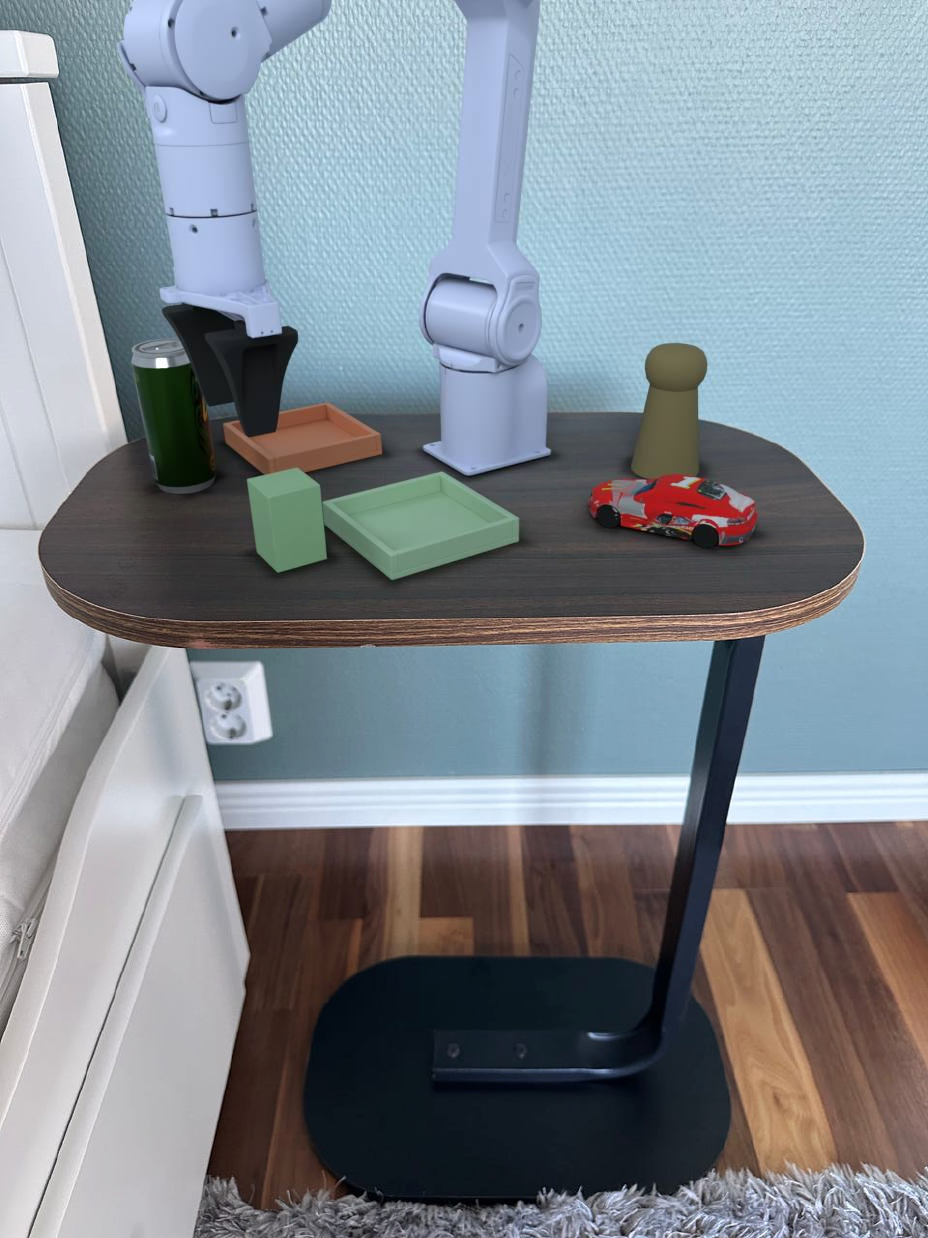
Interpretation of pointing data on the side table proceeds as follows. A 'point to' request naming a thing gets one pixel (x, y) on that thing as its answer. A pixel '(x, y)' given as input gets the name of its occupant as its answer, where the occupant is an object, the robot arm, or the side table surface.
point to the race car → (677, 508)
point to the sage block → (287, 519)
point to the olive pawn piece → (670, 412)
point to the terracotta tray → (306, 440)
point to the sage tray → (419, 524)
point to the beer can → (173, 417)
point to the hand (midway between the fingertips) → (240, 417)
